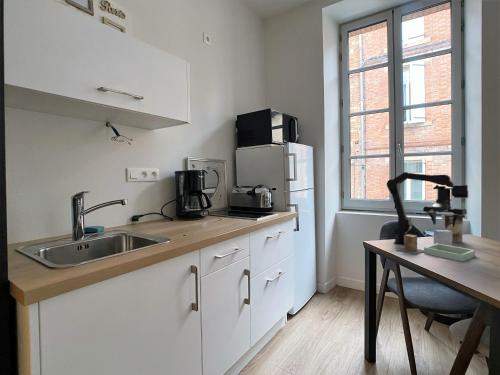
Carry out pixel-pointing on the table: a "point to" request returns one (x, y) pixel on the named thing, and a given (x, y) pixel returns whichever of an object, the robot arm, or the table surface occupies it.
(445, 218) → the coffee box
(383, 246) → the table surface
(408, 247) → the walnut block
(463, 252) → the green square frame
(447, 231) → the medicine box
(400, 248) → the mat
